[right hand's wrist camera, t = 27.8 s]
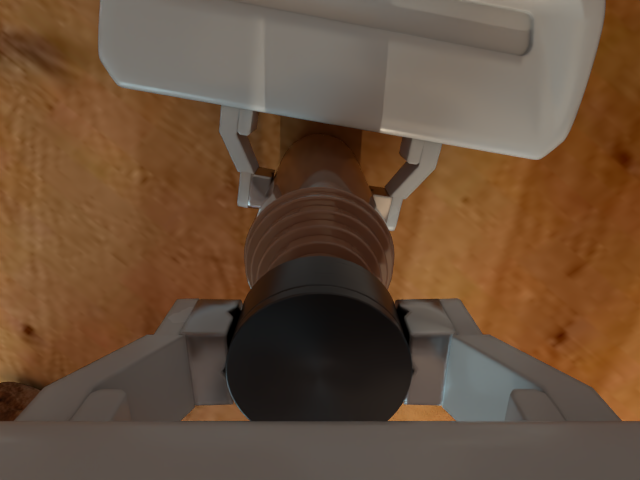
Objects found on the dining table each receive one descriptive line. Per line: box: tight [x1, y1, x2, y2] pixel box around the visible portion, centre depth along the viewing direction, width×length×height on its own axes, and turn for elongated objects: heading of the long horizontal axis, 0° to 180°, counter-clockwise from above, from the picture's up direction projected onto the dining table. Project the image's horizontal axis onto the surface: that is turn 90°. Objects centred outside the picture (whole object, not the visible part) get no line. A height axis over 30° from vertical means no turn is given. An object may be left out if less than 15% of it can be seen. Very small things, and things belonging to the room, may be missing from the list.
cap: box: [225, 256, 413, 421], centre depth 9 cm, size 4×4×2 cm
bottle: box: [244, 134, 394, 290], centre depth 18 cm, size 5×5×18 cm
